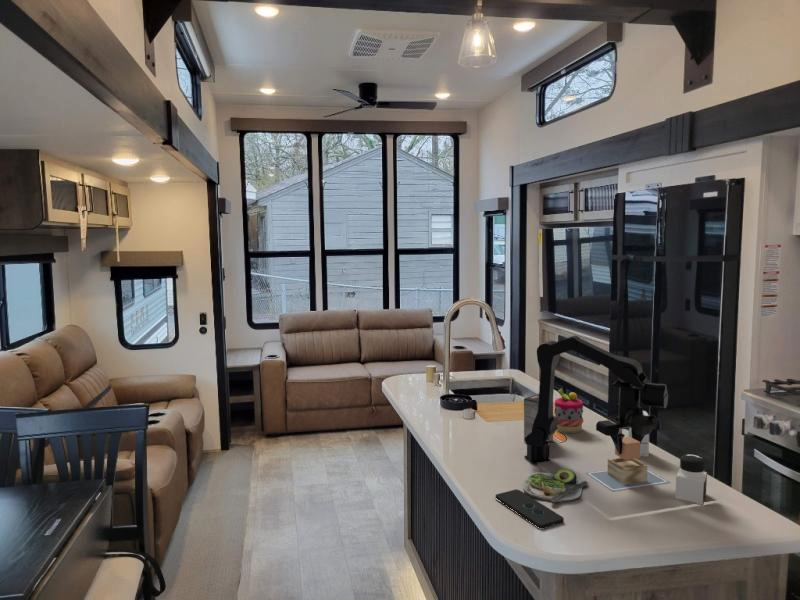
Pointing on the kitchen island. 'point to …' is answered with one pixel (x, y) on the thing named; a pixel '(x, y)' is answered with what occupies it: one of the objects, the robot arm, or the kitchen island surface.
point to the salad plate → (555, 485)
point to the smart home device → (530, 509)
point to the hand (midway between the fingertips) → (627, 453)
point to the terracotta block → (629, 449)
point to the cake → (569, 413)
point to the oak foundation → (627, 470)
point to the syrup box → (643, 441)
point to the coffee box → (531, 414)
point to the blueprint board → (617, 486)
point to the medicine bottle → (691, 480)
